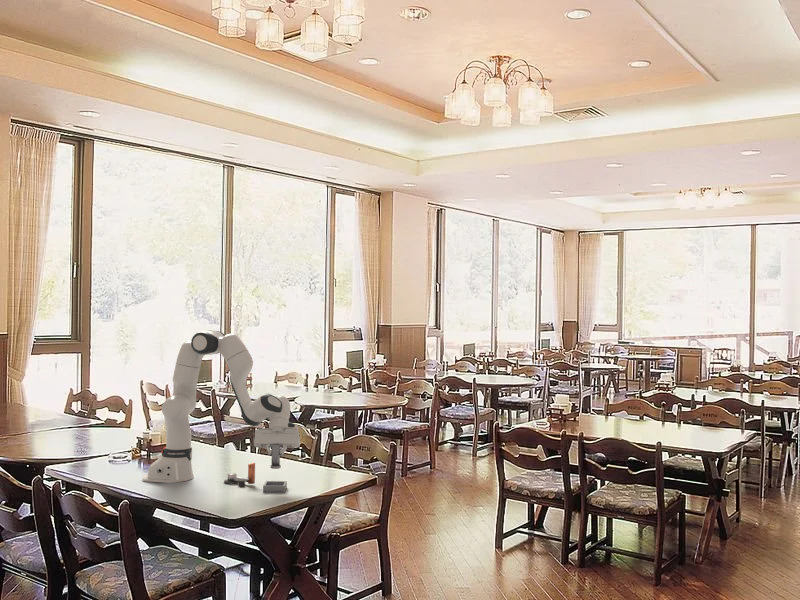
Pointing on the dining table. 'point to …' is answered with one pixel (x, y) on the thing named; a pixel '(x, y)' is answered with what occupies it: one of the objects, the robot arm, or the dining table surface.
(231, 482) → the crank base
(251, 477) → the crank
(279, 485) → the tray
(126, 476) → the dining table surface
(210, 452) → the dining table surface
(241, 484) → the stop block
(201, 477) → the dining table surface
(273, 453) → the pin
